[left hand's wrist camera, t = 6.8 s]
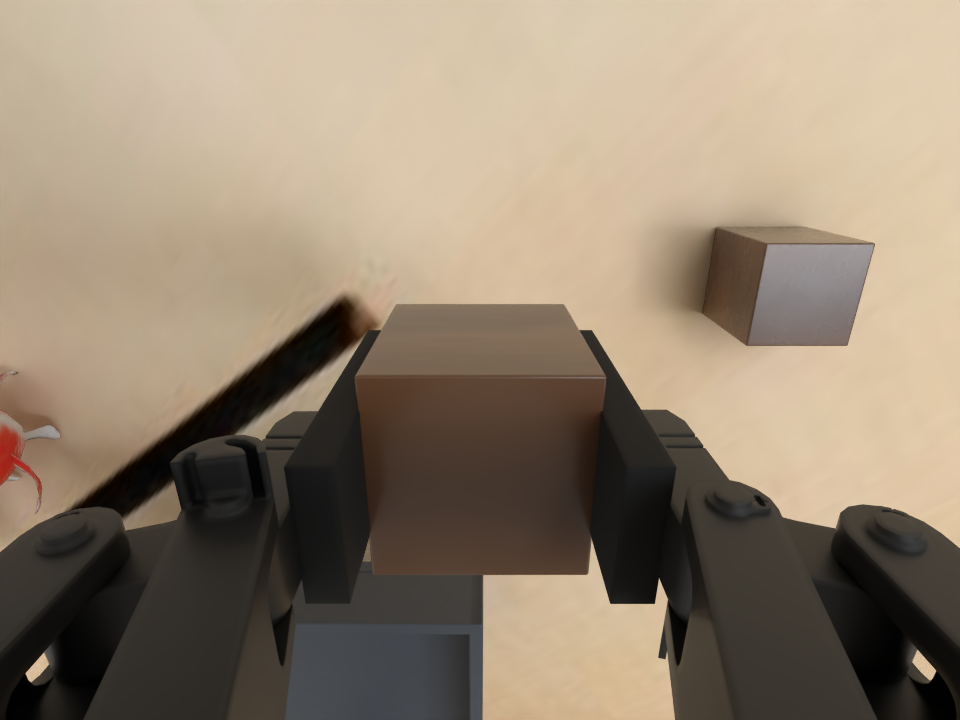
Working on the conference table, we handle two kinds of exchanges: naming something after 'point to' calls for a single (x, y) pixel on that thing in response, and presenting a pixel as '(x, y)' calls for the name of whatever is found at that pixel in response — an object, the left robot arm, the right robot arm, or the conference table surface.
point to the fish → (18, 446)
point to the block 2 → (786, 285)
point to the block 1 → (480, 440)
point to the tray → (390, 651)
